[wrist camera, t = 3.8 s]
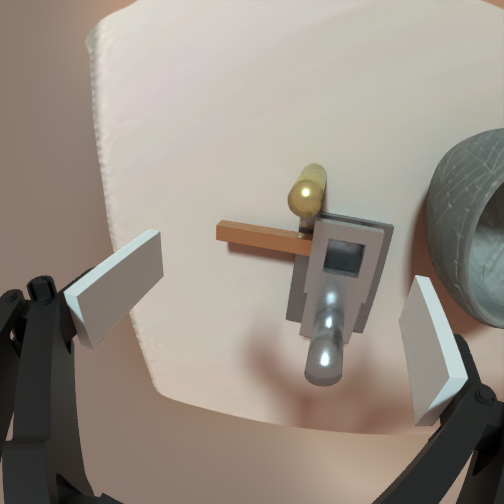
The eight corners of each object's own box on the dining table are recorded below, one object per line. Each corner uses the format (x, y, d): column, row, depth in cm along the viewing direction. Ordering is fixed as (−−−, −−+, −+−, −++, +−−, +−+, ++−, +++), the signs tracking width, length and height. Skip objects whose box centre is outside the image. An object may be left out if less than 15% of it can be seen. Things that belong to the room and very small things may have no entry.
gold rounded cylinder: (303, 162, 36) (289, 182, 26) (327, 165, 36) (324, 187, 25) (301, 185, 38) (285, 214, 27) (324, 189, 37) (319, 220, 26)
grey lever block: (227, 194, 41) (174, 236, 27) (393, 221, 36) (419, 279, 23) (224, 302, 48) (185, 367, 35) (362, 328, 44) (363, 405, 31)
